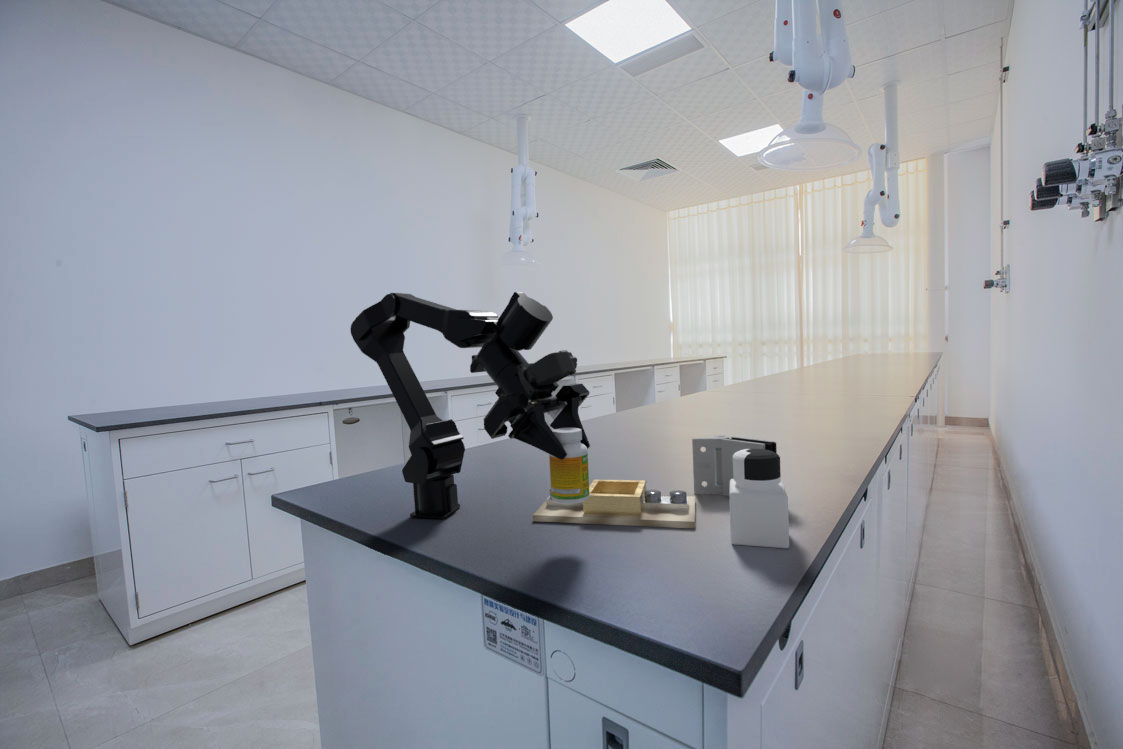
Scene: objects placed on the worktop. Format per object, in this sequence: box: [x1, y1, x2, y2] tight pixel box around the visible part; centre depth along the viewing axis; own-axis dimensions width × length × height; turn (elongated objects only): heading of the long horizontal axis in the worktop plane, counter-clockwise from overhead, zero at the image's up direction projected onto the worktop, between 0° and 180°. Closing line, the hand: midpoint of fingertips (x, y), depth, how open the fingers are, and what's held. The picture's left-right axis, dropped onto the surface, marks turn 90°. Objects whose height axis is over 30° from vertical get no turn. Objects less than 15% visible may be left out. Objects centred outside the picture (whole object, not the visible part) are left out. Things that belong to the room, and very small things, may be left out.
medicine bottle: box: [728, 449, 790, 549], centre depth 68 cm, size 7×7×12 cm
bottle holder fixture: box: [545, 479, 689, 516], centre depth 82 cm, size 23×9×3 cm, turn 75°
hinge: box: [691, 435, 778, 497], centre depth 87 cm, size 14×5×10 cm, turn 52°
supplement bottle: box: [548, 428, 590, 504], centre depth 69 cm, size 5×5×10 cm
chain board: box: [532, 495, 696, 529], centre depth 82 cm, size 25×12×1 cm, turn 75°
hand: (576, 452), depth 68 cm, fingers closed on supplement bottle, 5 cm apart
